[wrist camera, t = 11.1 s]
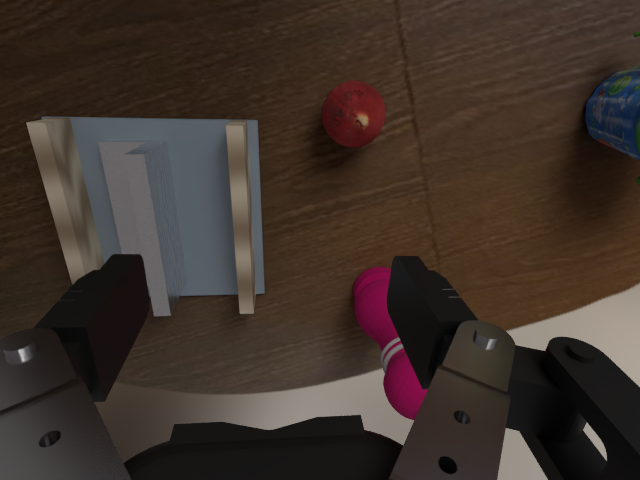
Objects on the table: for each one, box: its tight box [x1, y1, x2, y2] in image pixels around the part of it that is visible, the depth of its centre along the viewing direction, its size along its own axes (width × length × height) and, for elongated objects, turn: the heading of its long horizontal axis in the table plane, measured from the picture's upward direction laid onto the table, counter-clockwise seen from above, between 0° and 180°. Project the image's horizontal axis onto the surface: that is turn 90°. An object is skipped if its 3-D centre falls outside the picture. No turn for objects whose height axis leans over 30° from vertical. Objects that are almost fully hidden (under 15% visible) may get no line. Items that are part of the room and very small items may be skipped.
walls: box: [26, 117, 256, 314], centre depth 38 cm, size 20×18×4 cm
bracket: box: [98, 140, 187, 316], centre depth 37 cm, size 16×6×7 cm, turn 179°
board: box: [42, 116, 265, 297], centre depth 40 cm, size 20×20×1 cm
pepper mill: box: [353, 267, 428, 420], centre depth 38 cm, size 7×7×20 cm
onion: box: [322, 81, 386, 148], centre depth 34 cm, size 6×6×8 cm
